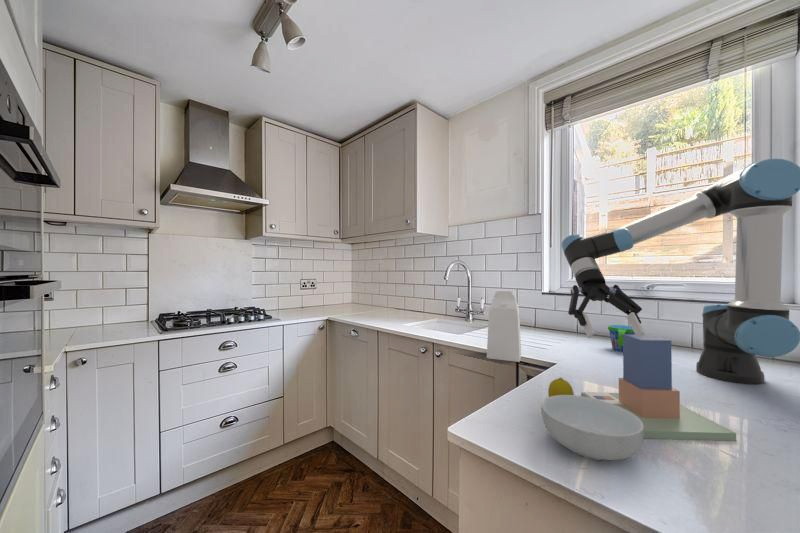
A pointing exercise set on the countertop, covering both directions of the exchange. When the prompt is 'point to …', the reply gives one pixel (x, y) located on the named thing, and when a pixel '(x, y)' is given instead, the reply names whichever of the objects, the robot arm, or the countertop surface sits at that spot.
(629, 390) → the baseplate tower
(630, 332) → the snack cup
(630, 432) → the cereal bowl
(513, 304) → the milk
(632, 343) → the navy brick
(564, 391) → the lemon
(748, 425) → the countertop surface
